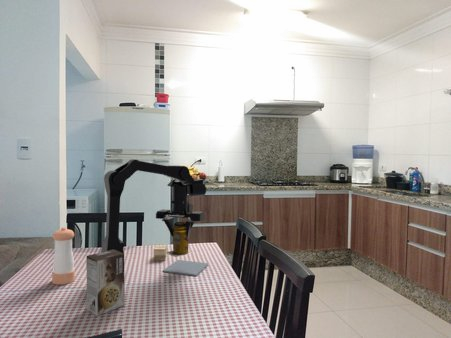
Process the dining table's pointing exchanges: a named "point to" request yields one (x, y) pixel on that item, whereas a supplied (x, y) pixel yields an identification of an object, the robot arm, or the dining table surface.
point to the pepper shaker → (63, 257)
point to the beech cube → (160, 252)
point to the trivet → (186, 267)
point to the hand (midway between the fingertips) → (180, 236)
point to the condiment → (179, 240)
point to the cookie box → (105, 281)
